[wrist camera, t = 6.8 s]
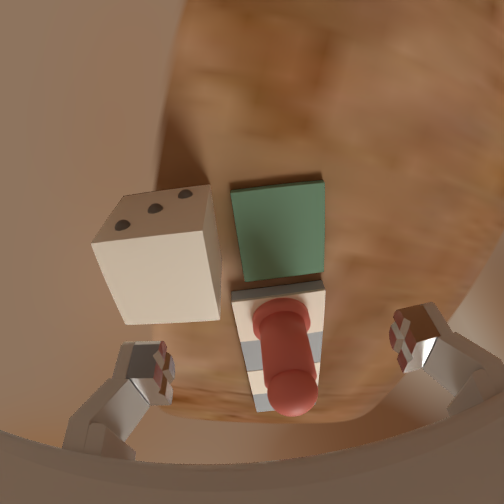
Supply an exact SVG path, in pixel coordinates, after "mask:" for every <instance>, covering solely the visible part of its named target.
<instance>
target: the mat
mask: <svg viewBox="0 0 504 504" xmlns="http://www.w3.org/2000/svg"><path fill="white" fill-rule="evenodd" d="M231 199H232V206H233V212H234V218H235V224H236V231H237V237H238V243H239V249H240V255H241V261H242V267H243V273H244V279H245V282H249V281H257V280H265V279H273V278H281V277H289V276H297V275H304V274H312V273H319V272H324V242H325V183H324V181H323V180H318V181H307V182H297V183H287V184H278V185H269V186H261V187H253V188H245V189H237V190H231Z"/></svg>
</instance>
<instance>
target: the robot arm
mask: <svg viewBox="0 0 504 504" xmlns="http://www.w3.org/2000/svg"><path fill="white" fill-rule="evenodd" d="M393 318H394V320H395V322H394V323H393V324H392V325H391V327H390V331H389V339H390V343H391V346H392V349H393V350H394V351H396V352H397V353H399V355H398V358H397V360H398V363H399V365H400V367H401V370H402V372H403V373H407V372H411V371H414V370H418V369H422V368H423V370H424V371H425V372H426V373H427V374H429V375H430V376H431V377H432V378H433V379H435V380H436V381H437V382H438V383H439V384H440V385H442V386H443V387H444V388H445V389H446V390H448V391H449V392H450V393H451V394H452V395H453V396H454V397H455V398H454V399H453V400H452V402H451V403H450V404H449V406H448V407H447V411H448V413H449V416H450V417H448V418H445V419H443V420H440V421H437V422H435V423H432V424H429V425H427V426H424V427H421V428H418V429H415V430H413V431H409V432H406V433H403V434H400V435H397V436H394V437H391V438H387V439H383V440H380V441H376V442H372V443H369V444H365V445H361V446H357V447H353V448H348V449H344V450H339V451H334V452H329V453H324V454H318V455H312V456H306V457H299V458H292V459H284V460H276V461H266V462H254V463H241V464H240V463H239V464H207V465H206V464H166V463H153V462H142V461H135V455H136V452H135V451H134V450H133V449H132V448H131V447H130V446H128V445H127V444H126V443H125V440H126V439H127V438H128V436H129V435H130V434H131V432H132V431H133V429H134V428H135V427H136V425H137V424H138V422H139V421H140V420H141V418H142V417H143V415H144V414H145V413H146V411H147V410H148V409H149V407H150V406H149V405H171V403H172V395H173V389H172V387H171V385H170V383H171V382H172V381H173V380H174V377H175V365H174V361H173V358H172V356H171V355H170V354H169V353H167V352H166V350H167V346H166V344H165V342H164V341H136V342H123V344H122V345H121V347H120V351H119V354H118V358H117V362H116V366H115V369H114V373H113V377H112V379H108V380H107V381H106V382H105V383H104V384H103V385H102V386H101V387H100V388H99V389H98V390H97V391H96V392H95V393H94V394H93V395H92V396H91V397H90V398H89V399H88V400H87V401H86V402H85V403H84V404H83V405H82V406H81V407H80V408H79V409H78V410H77V411H76V412H75V413H74V414H73V415H72V416H71V417H70V419H69V422H68V426H67V430H66V434H65V438H64V442H63V446H62V448H58V447H54V446H50V445H46V444H42V443H39V442H35V441H32V440H28V439H25V438H22V437H19V436H16V435H13V434H10V433H7V432H4V431H1V430H0V504H504V364H503V363H502V361H501V359H499V358H498V357H496V356H495V355H493V354H491V353H489V352H488V351H486V350H485V349H483V348H481V347H480V346H478V345H477V344H475V343H473V342H472V341H470V340H468V339H467V338H465V337H463V336H462V335H460V334H458V333H457V332H454V333H453V332H452V331H451V329H450V327H449V326H448V324H447V322H446V321H445V319H444V317H443V316H442V314H441V313H440V311H439V310H438V308H437V306H436V305H435V303H433V302H429V303H425V304H421V305H415V306H411V307H407V308H402V309H398V310H396V311H395V313H394V316H393Z"/></svg>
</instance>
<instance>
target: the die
mask: <svg viewBox="0 0 504 504" xmlns="http://www.w3.org/2000/svg"><path fill="white" fill-rule="evenodd" d="M91 245H92V248H93V251H94V253H95V256H96V258H97V261H98V264H99V266H100V268H101V271H102V273H103V276H104V278H105V280H106V283H107V285H108V287H109V290H110V292H111V294H112V296H113V299H114V301H115V303H116V305H117V307H118V309H119V312H120V314H121V316H122V318H123V320H124V322H125V324H126V325H135V324H161V323H181V322H198V321H213V320H220V303H221V274H222V258H221V252H220V245H219V239H218V232H217V226H216V219H215V213H214V206H213V199H212V192H211V185H210V184H209V185H200V186H192V187H184V188H176V189H169V190H162V191H155V192H154V191H152V192H145V193H139V194H132V195H127V196H123V198H122V199H121V200H120V202H119V203H118V204H117V206H116V207H115V209H114V210H113V211H112V213H111V214H110V216H109V217H108V219H107V220H106V221H105V223H104V224H103V226H102V227H101V229H100V230H99V232H98V234H97V235H96V237H95V238H94V239H93V241H92V242H91Z"/></svg>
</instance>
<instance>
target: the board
mask: <svg viewBox="0 0 504 504" xmlns="http://www.w3.org/2000/svg"><path fill="white" fill-rule="evenodd" d="M325 291H326V290H325V287H324V285H323V282H322V280H318V281H311V282H304V283H296V284H289V285H281V286H273V287H265V288H257V289H249V290H240V291H232V307H233V311H234V316H235V320H236V325H237V329H238V334H239V338H240V342H241V347H242V351H243V355H244V360H245V364H246V368H247V373H248V377H249V381H250V385H251V390H252V394H253V398H254V402H255V406H256V410H257V412H264V411H273V410H274V409H273V408H272V406H271V405H270V403H269V400H268V396H267V390H268V389H267V388H266V387H265V384H264V374H263V364H262V353H261V343H260V340H259V339H258V338H257V337H256V336H255V334H254V332H253V322H252V318H253V314H254V312H255V311H256V309H257V308H258V307H259V306H260V305H262V304H263V303H265V302H267V301H269V300H272V299H276V298H292V299H296V300H298V301H300V302H302V303H303V304H304V305H305V306H306V307H307V309H308V313H309V317H310V320H311V325H310V328H309V330H308V332H307V334H308V339H309V343H310V347H311V351H312V356H313V360H314V364H315V369H316V373H317V378H316V383H317V386H318V379H319V370H320V358H321V346H322V334H323V323H324V308H325ZM315 404H316V402H315ZM315 404H314V405H315Z"/></svg>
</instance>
